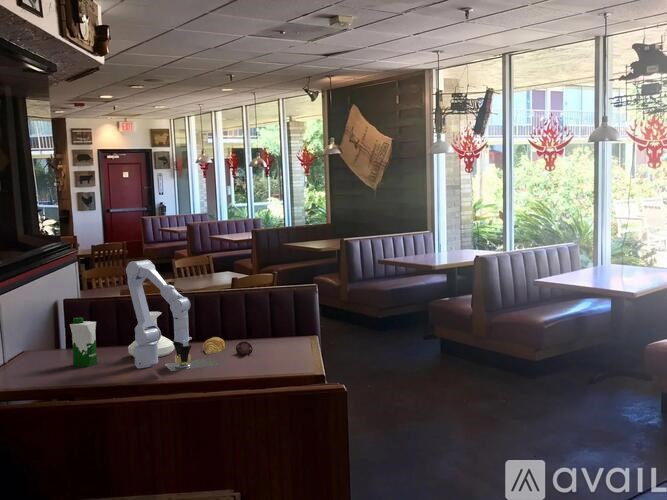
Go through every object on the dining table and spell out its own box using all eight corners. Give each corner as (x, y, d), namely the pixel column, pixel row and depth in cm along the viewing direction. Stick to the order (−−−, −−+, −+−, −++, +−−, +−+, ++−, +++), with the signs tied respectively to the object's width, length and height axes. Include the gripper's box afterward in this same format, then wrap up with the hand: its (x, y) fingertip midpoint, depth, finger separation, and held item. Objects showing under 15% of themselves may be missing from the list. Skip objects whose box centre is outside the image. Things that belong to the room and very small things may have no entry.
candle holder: (120, 361, 294) (117, 317, 293) (141, 351, 314) (139, 310, 313) (163, 362, 291) (161, 317, 289) (182, 351, 310) (180, 310, 309)
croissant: (214, 365, 298) (222, 349, 297) (194, 354, 298) (202, 338, 298) (225, 353, 319) (233, 338, 318) (206, 343, 319) (213, 328, 319)
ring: (177, 364, 273) (177, 357, 273) (174, 361, 279) (174, 354, 278) (191, 362, 276) (191, 355, 275) (188, 360, 281) (188, 352, 281)
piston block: (171, 374, 269) (170, 361, 269) (164, 366, 282) (163, 354, 282) (220, 367, 278) (220, 355, 277) (211, 360, 290) (211, 348, 290)
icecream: (253, 345, 290) (254, 341, 305) (236, 341, 290) (238, 337, 304) (250, 361, 290) (251, 356, 305) (233, 357, 289) (235, 352, 304)
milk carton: (81, 362, 295) (79, 316, 294) (100, 362, 293) (98, 316, 292) (69, 366, 286) (67, 319, 285) (89, 367, 285) (86, 320, 283)
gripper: (195, 329, 271) (196, 363, 272) (187, 324, 284) (188, 356, 285) (177, 331, 268) (179, 365, 269) (170, 325, 281) (171, 358, 282)
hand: (182, 360), depth 277 cm, fingers closed on ring, 6 cm apart
